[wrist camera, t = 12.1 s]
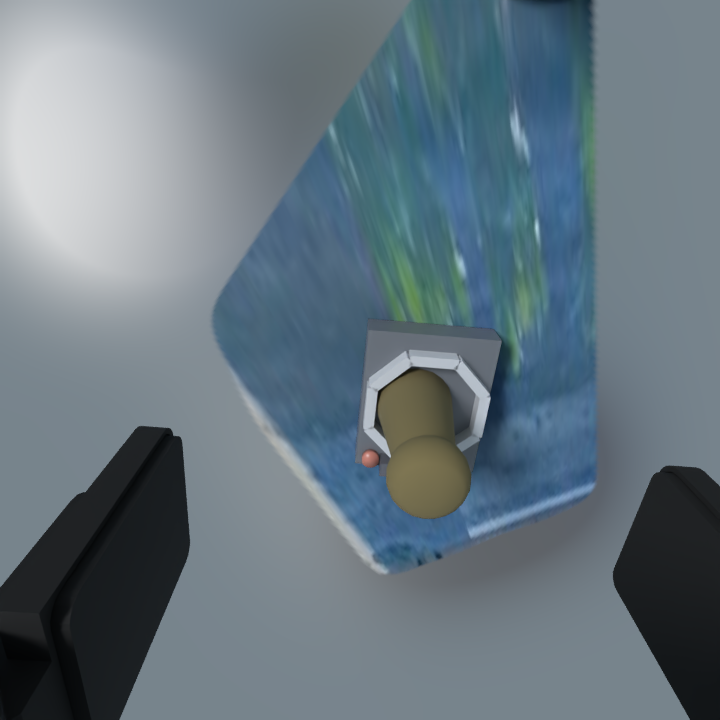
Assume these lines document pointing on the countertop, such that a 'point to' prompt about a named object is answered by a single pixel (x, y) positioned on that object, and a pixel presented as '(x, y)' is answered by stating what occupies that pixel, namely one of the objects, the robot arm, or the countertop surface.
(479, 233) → the countertop surface
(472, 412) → the octagon ring plate
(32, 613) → the robot arm
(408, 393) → the cork
